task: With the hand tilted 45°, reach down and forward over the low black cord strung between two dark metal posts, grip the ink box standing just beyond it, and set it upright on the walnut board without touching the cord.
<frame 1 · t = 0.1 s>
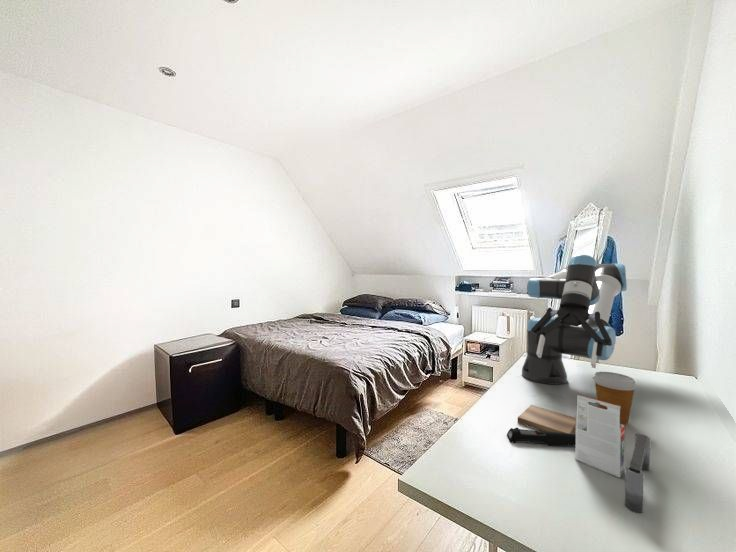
hand: (564, 360, 89), 15 cm above the table, tool tilted 35°, fingers open, 13 cm apart
electric trimmer: (540, 443, 75), on the table
cord stand: (638, 485, 60), on the table
disposable coffee cup: (613, 420, 86), on the table
ink box: (598, 466, 66), on the table
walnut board: (548, 423, 84), on the table
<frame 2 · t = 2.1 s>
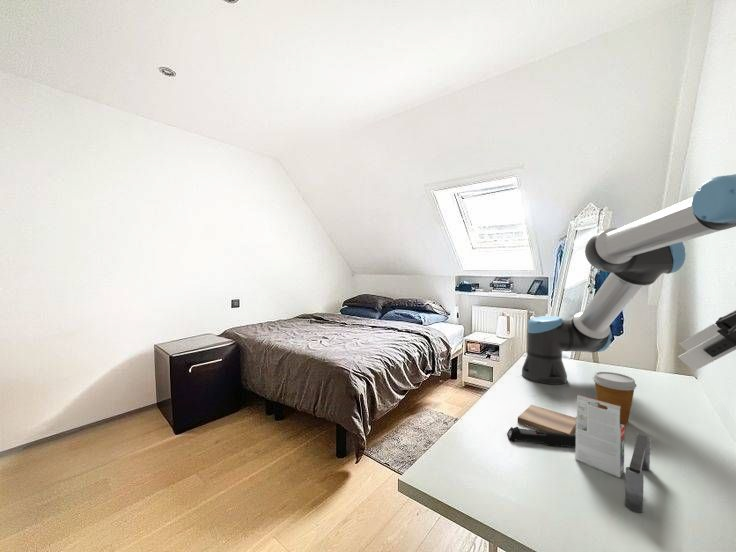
hand: (685, 356, 56), 26 cm above the table, tool tilted 45°, fingers open, 13 cm apart
nothing on the table moved.
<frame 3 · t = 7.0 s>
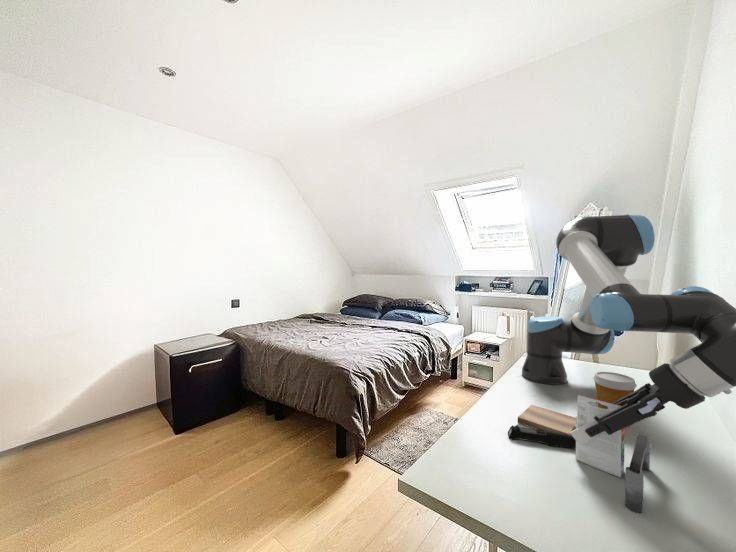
hand: (577, 434, 69), 5 cm above the table, tool tilted 45°, fingers closed on ink box, 4 cm apart
ink box: (598, 466, 66), on the table, touching gripper
everything else where it was.
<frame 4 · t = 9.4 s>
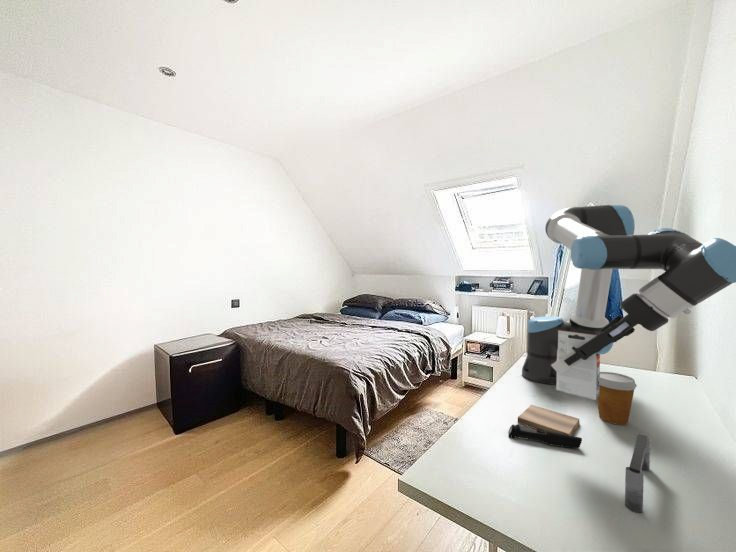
hand: (558, 367, 75), 18 cm above the table, tool tilted 45°, fingers closed on ink box, 4 cm apart
ink box: (577, 394, 72), point 13 cm above the table, touching gripper
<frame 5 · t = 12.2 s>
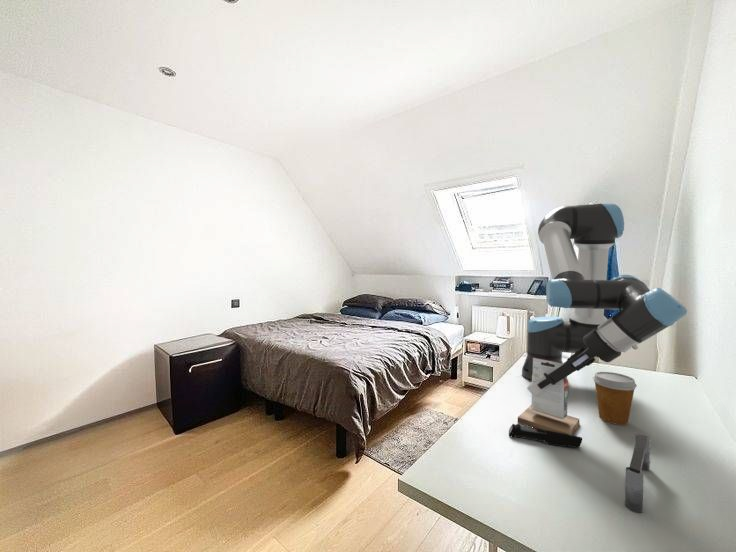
hand: (533, 389, 87), 8 cm above the table, tool tilted 45°, fingers closed on ink box, 4 cm apart
ink box: (548, 413, 84), point 3 cm above the table, touching gripper
when the fingers open (8 cm above the table, at t = 12.2 s): ink box drops 1 cm, resting on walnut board.
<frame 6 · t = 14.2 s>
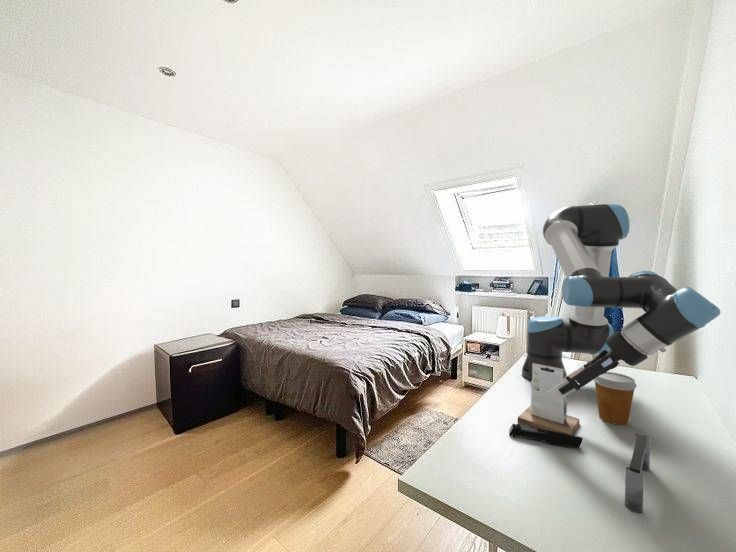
hand: (558, 390, 82), 10 cm above the table, tool tilted 45°, fingers open, 13 cm apart
ink box: (548, 418, 84), point 1 cm above the table, touching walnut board
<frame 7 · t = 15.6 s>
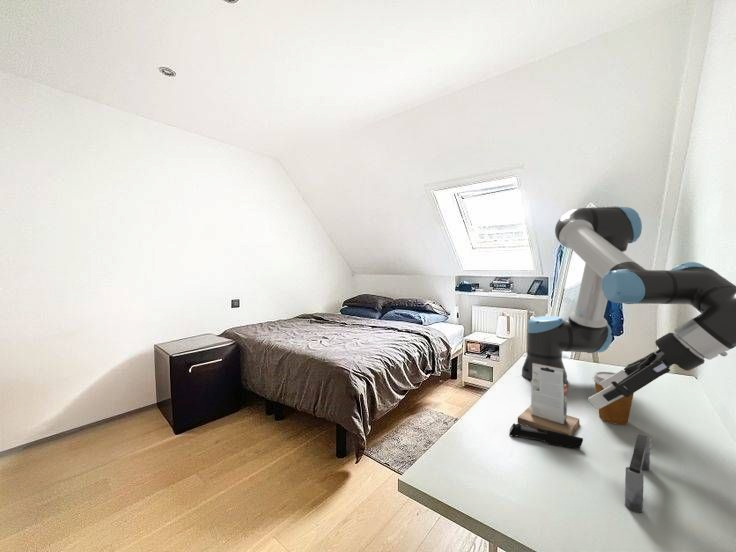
hand: (598, 395, 76), 11 cm above the table, tool tilted 45°, fingers open, 13 cm apart
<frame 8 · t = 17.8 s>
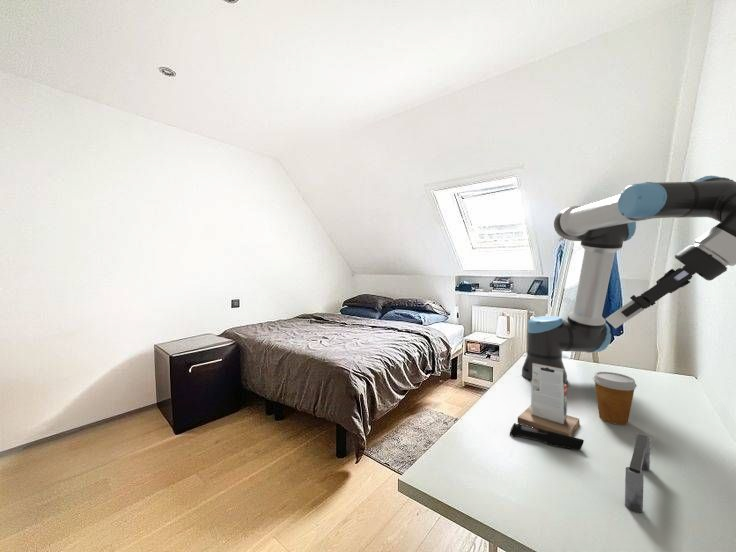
hand: (614, 320, 74), 30 cm above the table, tool tilted 45°, fingers open, 13 cm apart
at the end: ink box inside the target area on the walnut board (0.1 cm from its centre), point 1.3 cm above the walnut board's base; ink box tilted 0°; the gripper is holding nothing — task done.
